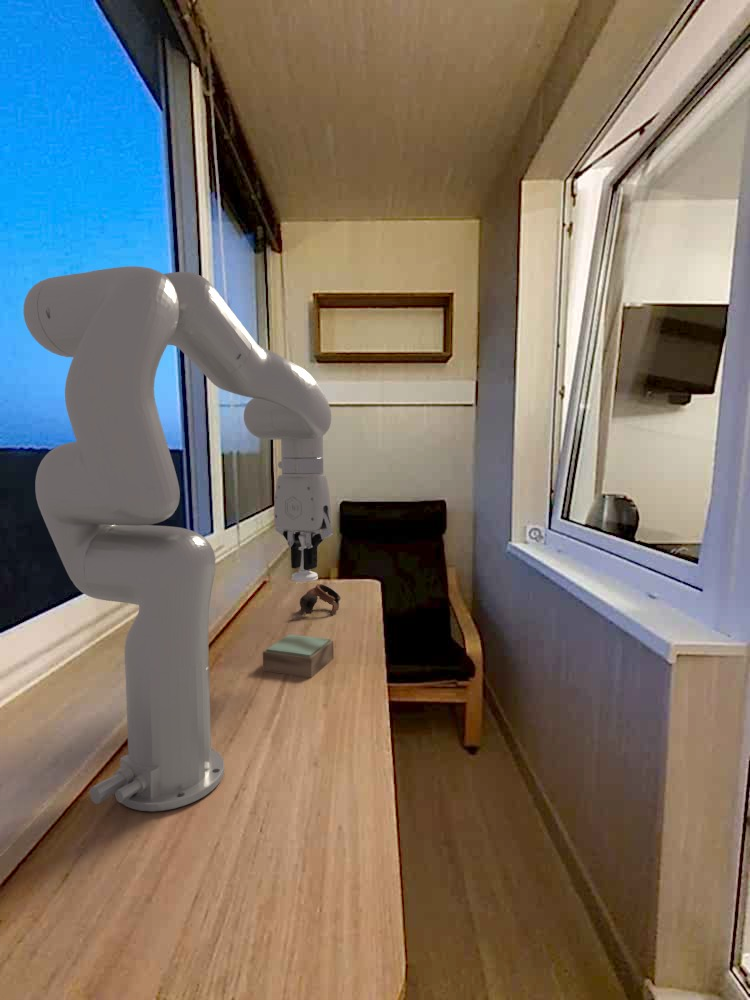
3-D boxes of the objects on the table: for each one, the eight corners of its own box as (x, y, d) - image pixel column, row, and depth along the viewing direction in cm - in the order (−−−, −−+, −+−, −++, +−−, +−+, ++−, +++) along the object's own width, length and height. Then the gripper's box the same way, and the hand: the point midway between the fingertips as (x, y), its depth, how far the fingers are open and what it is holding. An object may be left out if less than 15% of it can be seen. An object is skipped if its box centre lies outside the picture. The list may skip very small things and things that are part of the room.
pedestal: (311, 677, 98) (311, 656, 98) (263, 670, 102) (262, 649, 101) (333, 658, 108) (333, 638, 107) (288, 652, 111) (288, 633, 111)
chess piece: (312, 582, 97) (311, 527, 96) (287, 581, 98) (286, 526, 97) (321, 576, 102) (320, 523, 101) (297, 574, 103) (296, 522, 102)
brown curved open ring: (309, 607, 146) (324, 581, 145) (334, 628, 141) (350, 601, 141) (283, 607, 135) (300, 579, 135) (309, 629, 131) (326, 600, 130)
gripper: (255, 468, 99) (257, 567, 101) (326, 469, 91) (327, 577, 93) (282, 466, 105) (283, 559, 107) (350, 468, 97) (351, 568, 99)
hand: (304, 567), depth 100 cm, fingers closed on chess piece
